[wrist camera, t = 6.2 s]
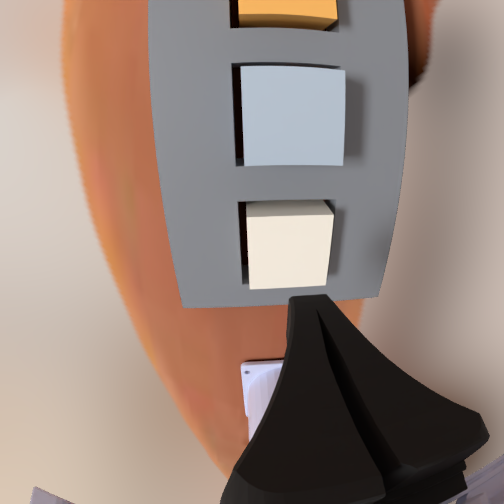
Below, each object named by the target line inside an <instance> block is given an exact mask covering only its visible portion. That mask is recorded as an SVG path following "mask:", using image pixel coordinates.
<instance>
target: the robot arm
mask: <svg viewBox="0 0 504 504" xmlns="http://www.w3.org/2000/svg"><path fill="white" fill-rule="evenodd" d="M286 337H287V348H286V353H285V357H284V360H275V361H257V362H244V363H242V364H241V374H242V384H243V393H244V403H245V412H246V416H247V417H248V418H249V444H248V445H247V447H246V449H245V450H244V452H243V453H242V455H241V457H240V458H239V460H238V461H237V463H236V464H235V466H234V468H233V471H232V473H231V476H230V478H229V480H228V482H227V485H226V487H225V489H224V492H223V494H222V497H221V500H220V504H448V503H450V502H452V501H454V500H456V499H457V501H456V504H504V454H503V455H502V456H500V457H499V458H497V459H496V460H494V461H493V462H491V463H489V464H488V465H486V466H485V467H483V468H481V469H480V470H478V471H476V472H475V473H473V474H471V475H470V476H468V477H466V478H464V475H463V472H462V471H464V470H465V469H466V464H465V461H464V460H465V459H466V458H468V457H469V456H470V455H472V454H473V453H474V452H476V451H477V450H478V449H479V448H481V447H482V446H483V445H484V444H485V443H486V442H487V441H488V439H489V436H490V435H489V433H488V431H487V428H486V427H485V424H484V422H483V420H482V417H481V416H480V414H479V413H477V412H475V411H473V410H470V409H468V408H466V407H463V406H461V405H459V404H457V403H454V402H452V401H450V400H449V399H447V398H445V397H443V396H441V395H439V394H437V393H435V392H434V391H432V390H430V389H429V388H427V387H426V386H424V385H423V384H421V383H420V382H418V381H417V380H415V379H414V378H412V377H411V376H409V375H408V374H407V373H405V372H404V371H402V370H401V369H400V368H399V367H397V366H396V365H395V364H394V363H393V362H391V361H390V360H389V359H387V358H386V357H385V356H384V355H383V354H382V353H381V352H380V351H379V350H378V349H377V348H376V347H375V346H373V345H372V344H371V343H370V342H369V341H368V340H367V339H366V338H365V337H364V336H363V334H362V333H361V332H360V331H359V330H358V329H357V328H356V327H355V326H354V325H353V324H352V323H351V322H350V321H349V319H348V318H347V317H346V316H345V315H344V314H343V313H342V311H341V310H340V309H339V308H338V307H337V306H336V304H335V303H334V302H333V301H332V300H331V299H330V297H329V296H328V295H327V294H317V295H302V296H292V297H290V298H289V301H288V318H287V332H286ZM30 504H74V503H71V502H69V501H67V500H64V499H62V498H60V497H58V496H55V495H53V494H50V493H49V492H46V491H44V490H42V489H40V488H38V487H34V488H33V492H32V496H31V501H30Z"/></svg>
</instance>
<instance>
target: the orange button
mask: <svg viewBox="0 0 504 504" xmlns="http://www.w3.org/2000/svg"><path fill="white" fill-rule="evenodd" d="M238 4H239V28H294V29H309V30H319V31H323V30H324V29H325V28H326V27H328V26H329V25H330V24H332V23H333V22H334V21H336V20H337V7H336V0H238Z"/></svg>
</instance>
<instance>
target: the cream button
mask: <svg viewBox="0 0 504 504" xmlns="http://www.w3.org/2000/svg"><path fill="white" fill-rule="evenodd" d="M246 215H247V239H248V262H249V285H250V289H271V288H290V287H307V286H323V285H326V279H327V272H328V264H329V256H330V247H331V238H332V229H333V218H334V214H333V213H332V212H331V210H330V209H329V207H328V206H327V205H326V203H325V202H324V201H323V199H308V200H266V201H246Z"/></svg>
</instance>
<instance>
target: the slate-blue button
mask: <svg viewBox="0 0 504 504" xmlns="http://www.w3.org/2000/svg"><path fill="white" fill-rule="evenodd" d="M241 90H242V117H243V143H244V166H264V165H335V166H343V155H344V133H345V70H336V69H326V68H314V67H297V66H241Z"/></svg>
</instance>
